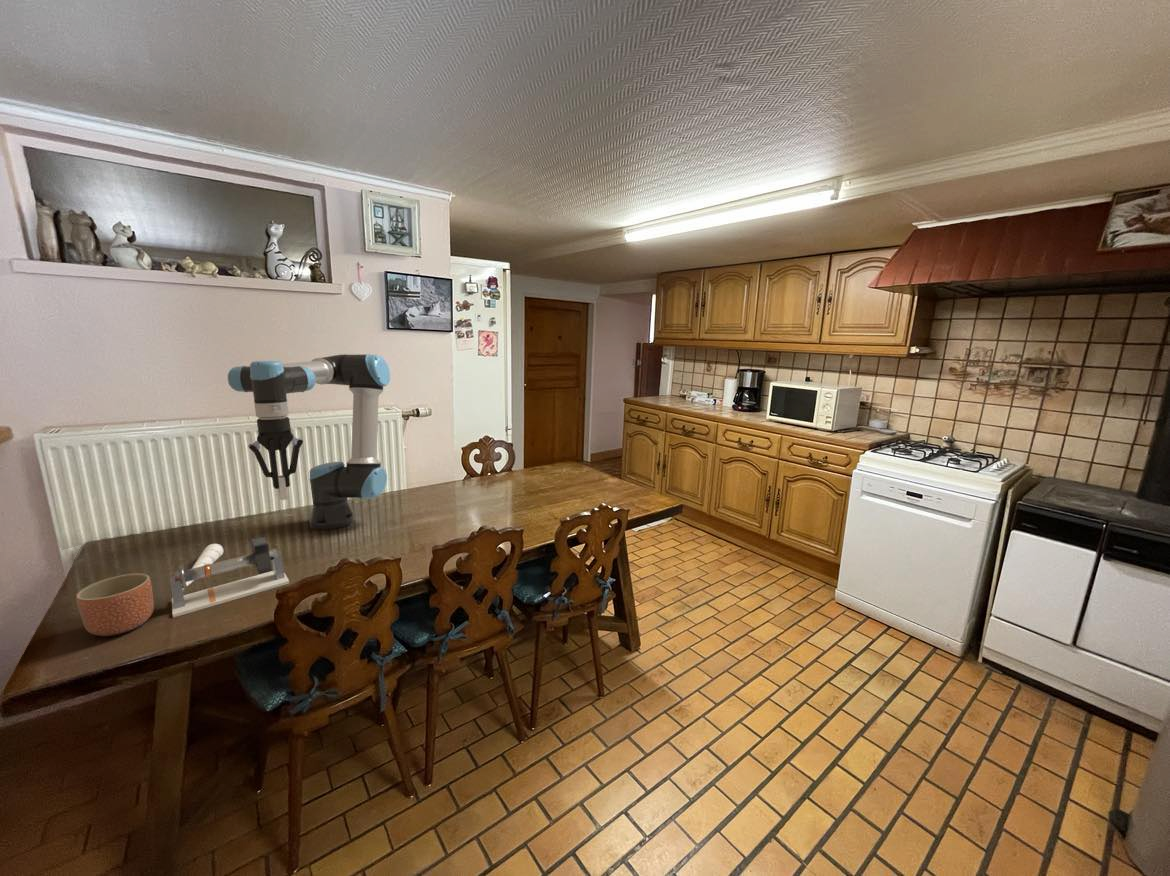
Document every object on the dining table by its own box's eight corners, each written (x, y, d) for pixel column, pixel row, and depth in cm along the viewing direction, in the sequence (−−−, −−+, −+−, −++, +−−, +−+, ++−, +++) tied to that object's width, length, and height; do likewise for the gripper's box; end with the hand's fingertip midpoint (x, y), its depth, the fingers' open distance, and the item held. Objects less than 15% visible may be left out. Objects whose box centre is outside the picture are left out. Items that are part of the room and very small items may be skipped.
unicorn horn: (162, 595, 124) (159, 579, 123) (208, 557, 147) (205, 543, 146) (183, 593, 126) (180, 577, 125) (225, 555, 148) (223, 542, 147)
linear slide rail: (174, 603, 120) (167, 565, 118) (281, 573, 136) (277, 539, 134) (175, 613, 116) (167, 573, 114) (285, 581, 132) (281, 545, 130)
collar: (255, 565, 132) (251, 539, 130) (267, 562, 134) (263, 536, 132) (259, 574, 127) (254, 547, 125) (271, 571, 129) (268, 543, 127)
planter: (73, 636, 107) (63, 593, 105) (139, 608, 118) (131, 569, 116) (103, 648, 102) (93, 604, 100) (169, 618, 114) (161, 578, 112)
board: (172, 601, 121) (171, 598, 121) (282, 570, 138) (282, 568, 138) (173, 617, 114) (172, 614, 114) (289, 583, 131) (289, 580, 131)
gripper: (246, 421, 119) (258, 507, 124) (303, 416, 128) (312, 496, 132) (242, 418, 125) (253, 500, 129) (297, 413, 133) (306, 490, 138)
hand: (283, 498), depth 131 cm, fingers closed
